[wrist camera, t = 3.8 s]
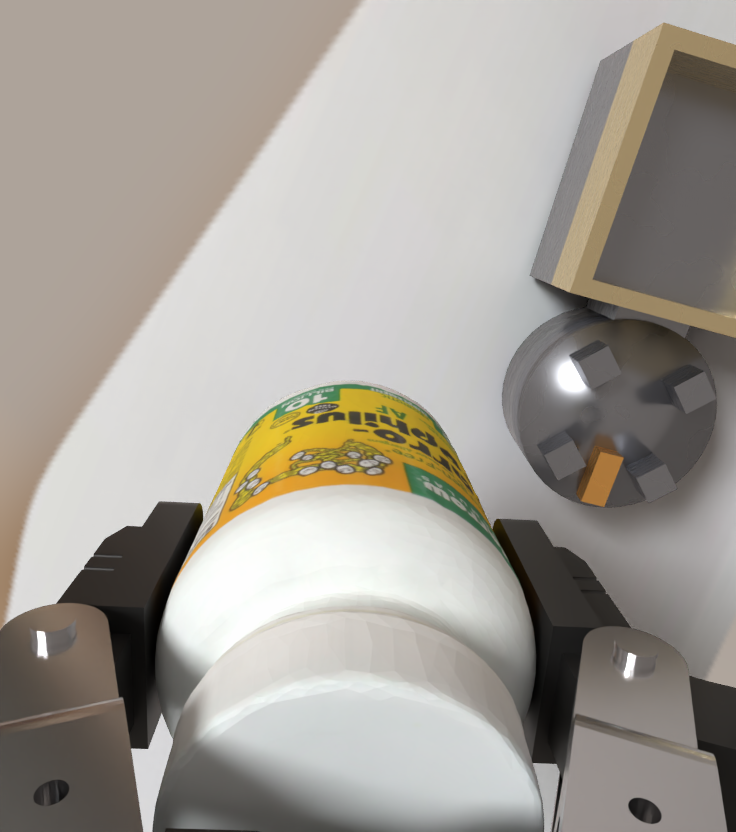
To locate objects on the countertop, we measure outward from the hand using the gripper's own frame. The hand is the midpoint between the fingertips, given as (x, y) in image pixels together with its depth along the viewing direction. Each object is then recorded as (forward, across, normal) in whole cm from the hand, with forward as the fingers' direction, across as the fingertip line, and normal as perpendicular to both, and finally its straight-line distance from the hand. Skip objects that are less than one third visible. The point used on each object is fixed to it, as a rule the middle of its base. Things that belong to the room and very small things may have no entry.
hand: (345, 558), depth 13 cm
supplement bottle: (+4, 0, 0) cm, 4 cm away
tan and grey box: (+13, -10, -4) cm, 16 cm away
